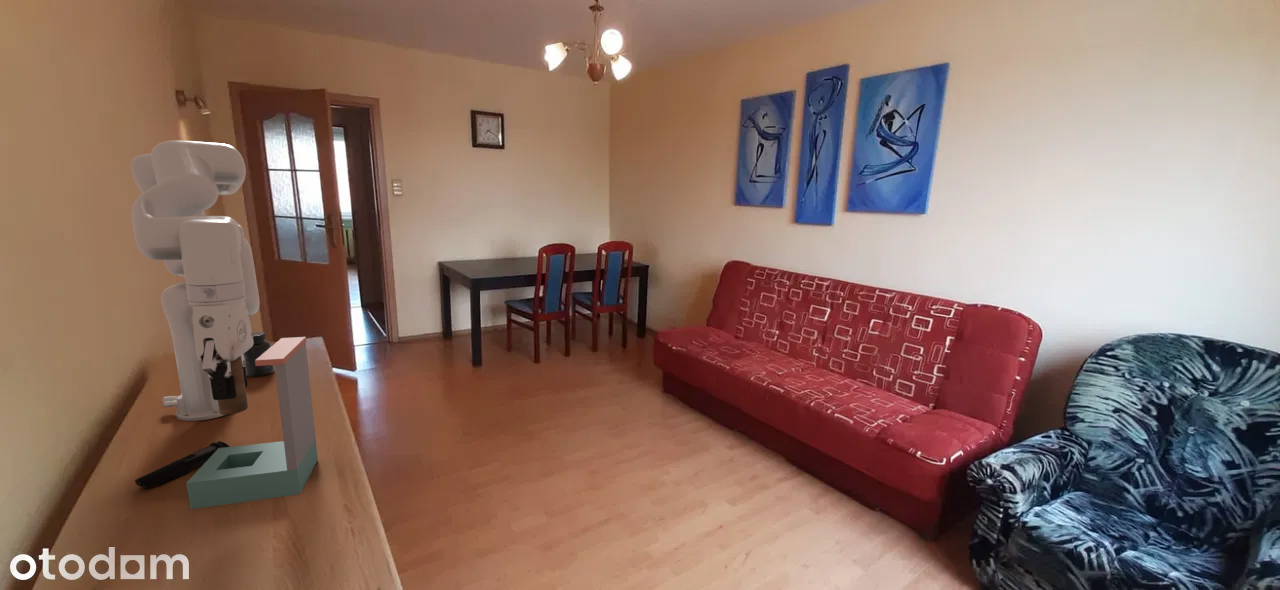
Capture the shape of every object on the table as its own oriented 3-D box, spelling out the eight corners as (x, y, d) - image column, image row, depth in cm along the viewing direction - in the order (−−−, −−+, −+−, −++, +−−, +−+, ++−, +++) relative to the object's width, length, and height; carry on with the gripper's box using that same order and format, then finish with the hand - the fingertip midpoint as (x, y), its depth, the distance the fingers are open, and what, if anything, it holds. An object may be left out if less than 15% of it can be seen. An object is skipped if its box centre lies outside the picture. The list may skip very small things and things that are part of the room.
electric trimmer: (131, 492, 90) (127, 477, 89) (221, 450, 104) (219, 436, 104) (146, 496, 89) (143, 481, 88) (235, 453, 103) (232, 439, 103)
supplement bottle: (269, 367, 150) (264, 329, 147) (278, 373, 146) (273, 333, 143) (241, 373, 144) (236, 333, 142) (250, 379, 140) (244, 338, 138)
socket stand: (189, 511, 85) (164, 365, 79) (223, 470, 97) (204, 342, 91) (299, 495, 90) (283, 358, 84) (318, 459, 102) (305, 336, 96)
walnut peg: (215, 415, 87) (206, 361, 85) (225, 406, 90) (217, 353, 88) (242, 413, 88) (235, 359, 86) (251, 404, 92) (244, 352, 90)
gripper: (221, 302, 78) (236, 410, 82) (261, 283, 94) (272, 375, 98) (161, 304, 76) (180, 415, 80) (212, 284, 91) (226, 378, 95)
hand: (231, 392), depth 89 cm, fingers closed on walnut peg, 4 cm apart
